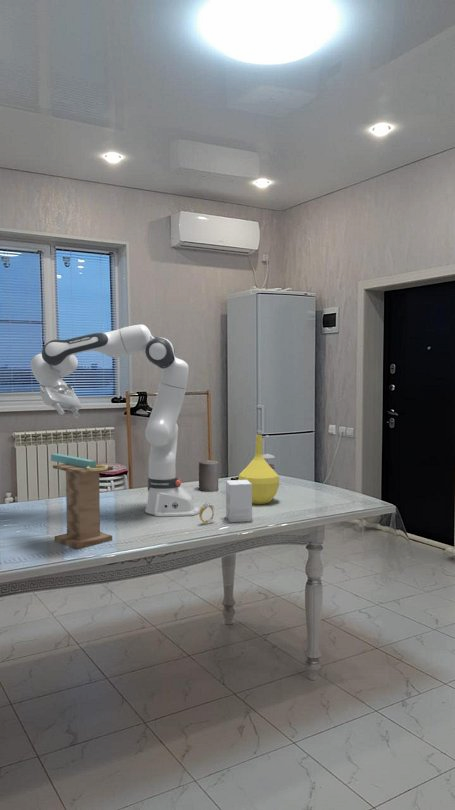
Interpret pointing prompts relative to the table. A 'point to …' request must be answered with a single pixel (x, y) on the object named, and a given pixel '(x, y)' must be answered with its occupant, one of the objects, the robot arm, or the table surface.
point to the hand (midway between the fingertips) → (70, 415)
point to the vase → (260, 477)
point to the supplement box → (238, 500)
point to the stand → (82, 507)
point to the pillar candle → (208, 476)
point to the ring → (204, 509)
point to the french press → (268, 456)
